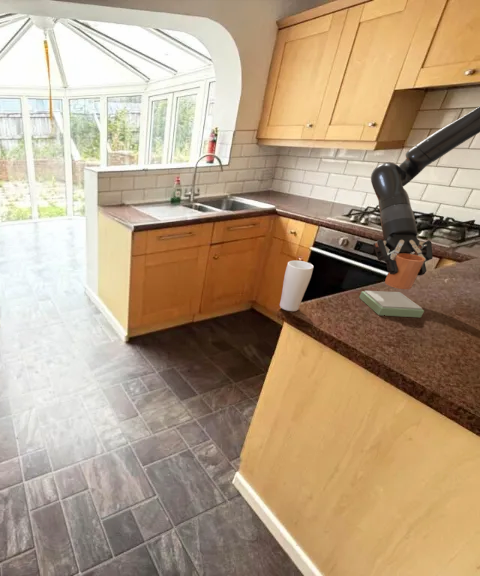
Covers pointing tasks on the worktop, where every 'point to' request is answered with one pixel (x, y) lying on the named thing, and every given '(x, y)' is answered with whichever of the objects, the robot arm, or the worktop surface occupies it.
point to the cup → (405, 271)
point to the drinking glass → (295, 284)
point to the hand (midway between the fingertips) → (407, 274)
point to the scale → (391, 304)
